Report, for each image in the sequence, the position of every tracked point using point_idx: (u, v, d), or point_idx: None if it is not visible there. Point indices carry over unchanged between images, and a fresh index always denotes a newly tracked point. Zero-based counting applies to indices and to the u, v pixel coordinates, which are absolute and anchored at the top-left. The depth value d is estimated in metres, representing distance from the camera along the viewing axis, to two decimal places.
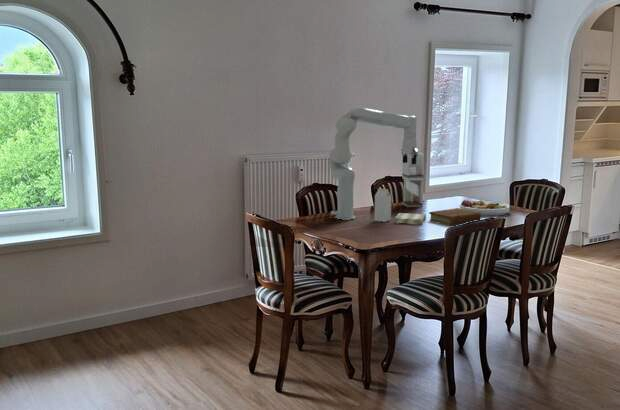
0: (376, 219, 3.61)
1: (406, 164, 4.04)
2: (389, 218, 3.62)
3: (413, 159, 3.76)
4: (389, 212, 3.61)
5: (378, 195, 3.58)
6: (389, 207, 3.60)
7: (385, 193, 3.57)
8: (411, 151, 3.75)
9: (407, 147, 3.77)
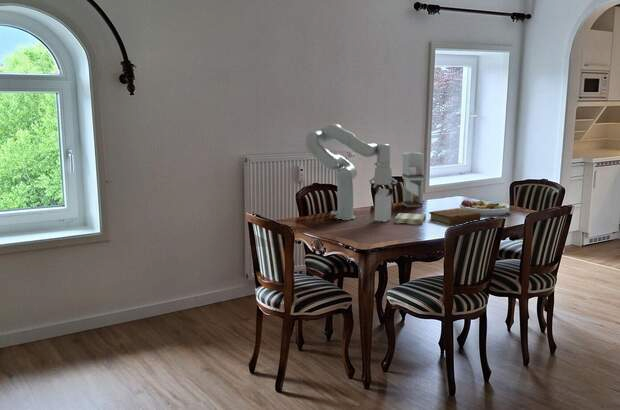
0: (376, 219, 3.61)
1: (406, 164, 4.04)
2: (389, 218, 3.62)
3: (391, 190, 3.57)
4: (389, 212, 3.61)
5: (378, 195, 3.58)
6: (389, 207, 3.60)
7: (385, 193, 3.57)
8: (391, 181, 3.55)
9: (385, 177, 3.55)
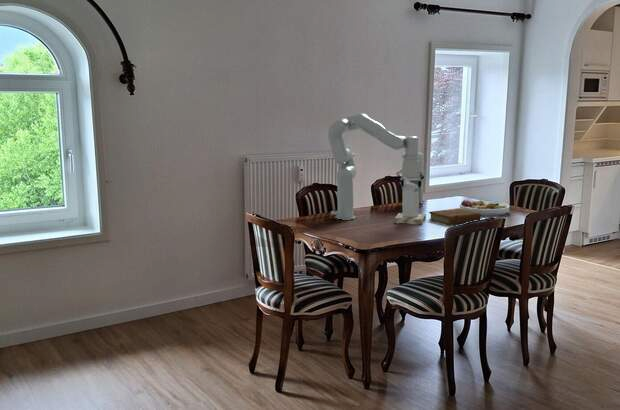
0: (404, 215, 3.58)
1: None
2: (417, 213, 3.58)
3: (420, 182, 3.54)
4: (417, 207, 3.58)
5: (406, 190, 3.55)
6: (417, 202, 3.57)
7: (413, 188, 3.54)
8: (419, 174, 3.52)
9: (413, 170, 3.52)
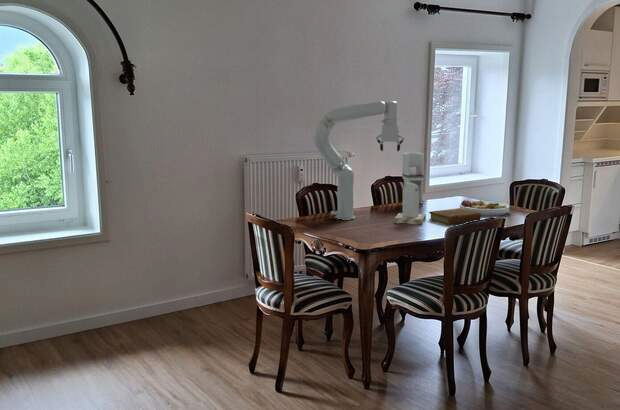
0: (404, 215, 3.58)
1: (406, 164, 4.04)
2: (417, 214, 3.58)
3: (399, 146, 3.63)
4: (417, 208, 3.58)
5: (406, 190, 3.55)
6: (417, 203, 3.57)
7: (413, 188, 3.54)
8: (397, 138, 3.61)
9: (392, 134, 3.61)
